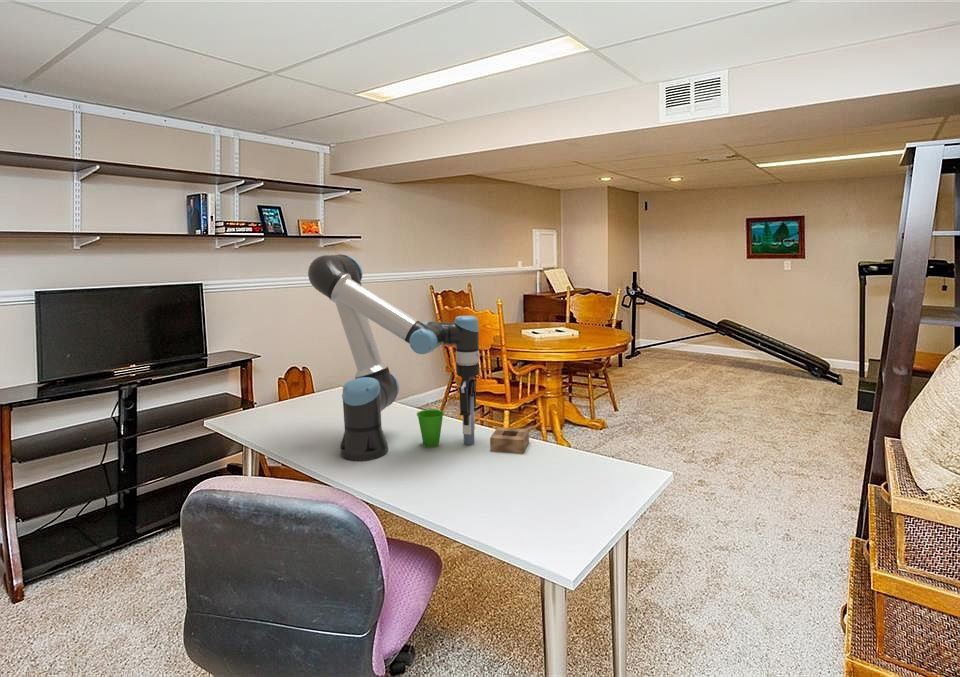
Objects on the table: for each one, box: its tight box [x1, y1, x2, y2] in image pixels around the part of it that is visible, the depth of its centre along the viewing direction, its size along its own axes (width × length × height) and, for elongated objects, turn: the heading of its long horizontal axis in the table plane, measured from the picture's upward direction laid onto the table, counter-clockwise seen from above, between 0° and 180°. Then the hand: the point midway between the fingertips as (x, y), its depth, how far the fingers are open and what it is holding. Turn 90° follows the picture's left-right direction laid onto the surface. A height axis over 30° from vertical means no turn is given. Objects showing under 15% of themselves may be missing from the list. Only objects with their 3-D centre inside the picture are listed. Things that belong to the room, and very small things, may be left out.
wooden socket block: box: [489, 426, 530, 455], centre depth 182 cm, size 11×11×4 cm
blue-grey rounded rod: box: [463, 396, 475, 446], centre depth 185 cm, size 4×4×16 cm
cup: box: [416, 408, 445, 448], centre depth 184 cm, size 9×9×11 cm
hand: (468, 431), depth 186 cm, fingers closed on blue-grey rounded rod, 3 cm apart
